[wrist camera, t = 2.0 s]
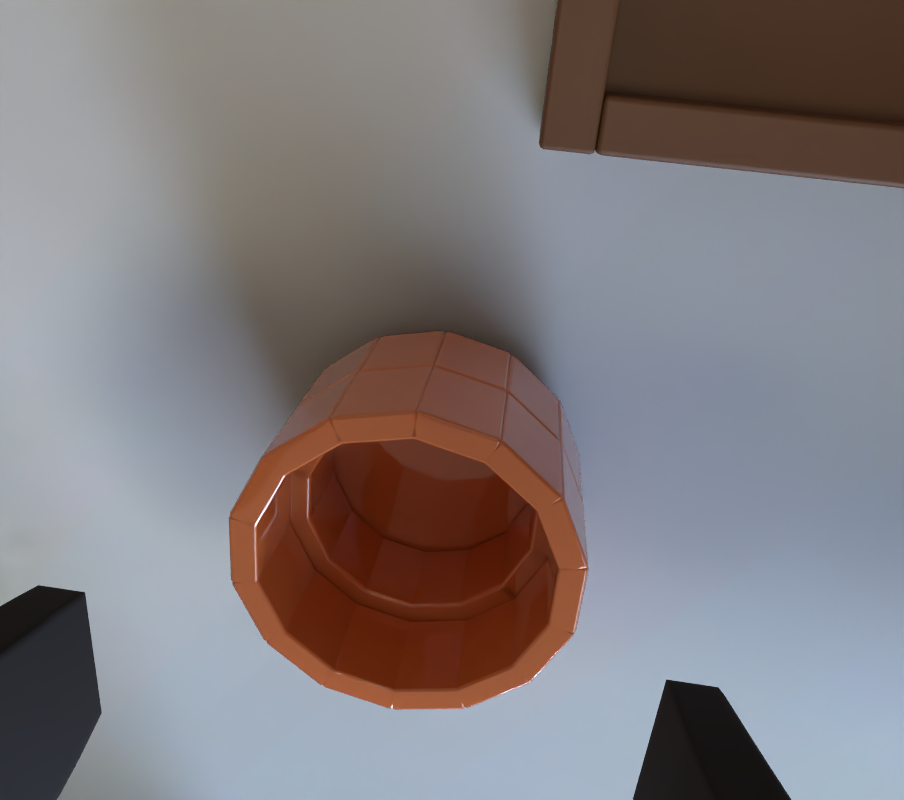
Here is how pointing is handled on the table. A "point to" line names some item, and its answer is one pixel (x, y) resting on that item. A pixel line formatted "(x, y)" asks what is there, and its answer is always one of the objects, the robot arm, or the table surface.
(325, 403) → the flower pot
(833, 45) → the tray
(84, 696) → the robot arm
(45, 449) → the table surface
